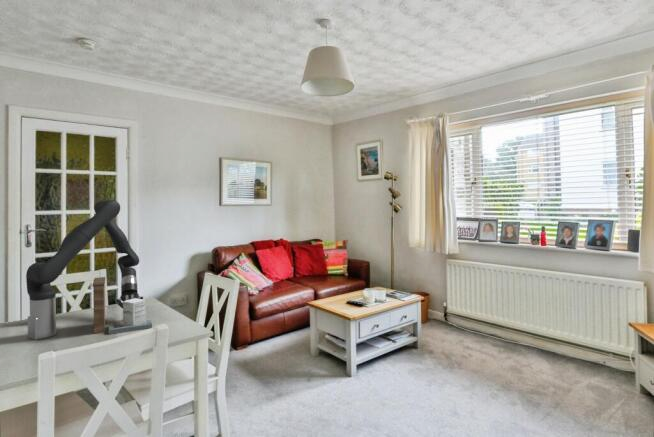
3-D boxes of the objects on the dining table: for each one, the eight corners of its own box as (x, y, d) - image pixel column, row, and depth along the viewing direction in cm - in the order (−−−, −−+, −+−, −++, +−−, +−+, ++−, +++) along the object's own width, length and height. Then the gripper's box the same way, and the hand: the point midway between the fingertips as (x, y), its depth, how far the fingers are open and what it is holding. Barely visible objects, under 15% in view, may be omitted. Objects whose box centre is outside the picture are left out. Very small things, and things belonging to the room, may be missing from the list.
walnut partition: (104, 332, 166) (104, 283, 166) (93, 334, 164) (92, 284, 163) (105, 322, 181) (105, 277, 180) (95, 323, 178) (94, 277, 178)
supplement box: (122, 326, 175) (122, 301, 174) (135, 322, 182) (135, 297, 181) (133, 328, 172) (132, 302, 171) (146, 324, 179) (146, 299, 178)
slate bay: (109, 329, 170) (109, 325, 170) (151, 323, 179) (150, 319, 179) (108, 334, 164) (108, 330, 164) (152, 328, 173) (152, 323, 173)
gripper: (114, 283, 184) (114, 313, 174) (143, 280, 190) (145, 309, 180) (114, 291, 188) (115, 320, 178) (142, 288, 195) (144, 316, 185)
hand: (130, 315), depth 179 cm, fingers closed
